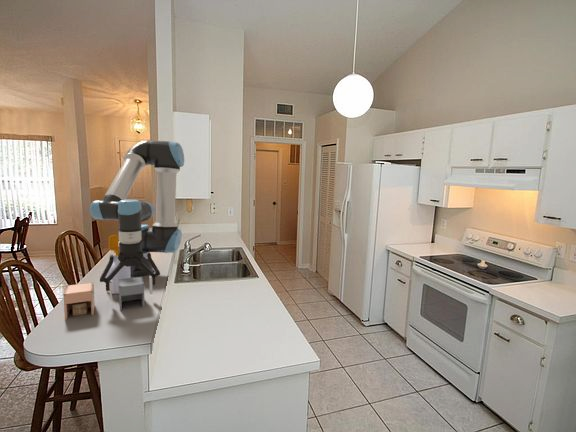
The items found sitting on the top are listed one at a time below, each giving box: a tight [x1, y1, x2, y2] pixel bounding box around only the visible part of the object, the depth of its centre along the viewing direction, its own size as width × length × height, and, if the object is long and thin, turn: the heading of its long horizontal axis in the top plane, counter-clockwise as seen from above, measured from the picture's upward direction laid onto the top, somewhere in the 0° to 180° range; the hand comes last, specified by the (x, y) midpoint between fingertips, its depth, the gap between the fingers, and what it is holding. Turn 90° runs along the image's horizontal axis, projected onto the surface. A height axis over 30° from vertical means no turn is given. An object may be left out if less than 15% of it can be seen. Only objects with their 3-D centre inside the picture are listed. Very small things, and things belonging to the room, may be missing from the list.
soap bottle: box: [105, 233, 132, 295], centre depth 128 cm, size 9×9×25 cm
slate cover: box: [118, 276, 145, 311], centre depth 117 cm, size 8×8×9 cm
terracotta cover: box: [63, 282, 96, 320], centre depth 108 cm, size 8×8×9 cm
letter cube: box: [72, 301, 89, 316], centre depth 109 cm, size 4×4×4 cm
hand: (131, 295), depth 117 cm, fingers open, 13 cm apart
